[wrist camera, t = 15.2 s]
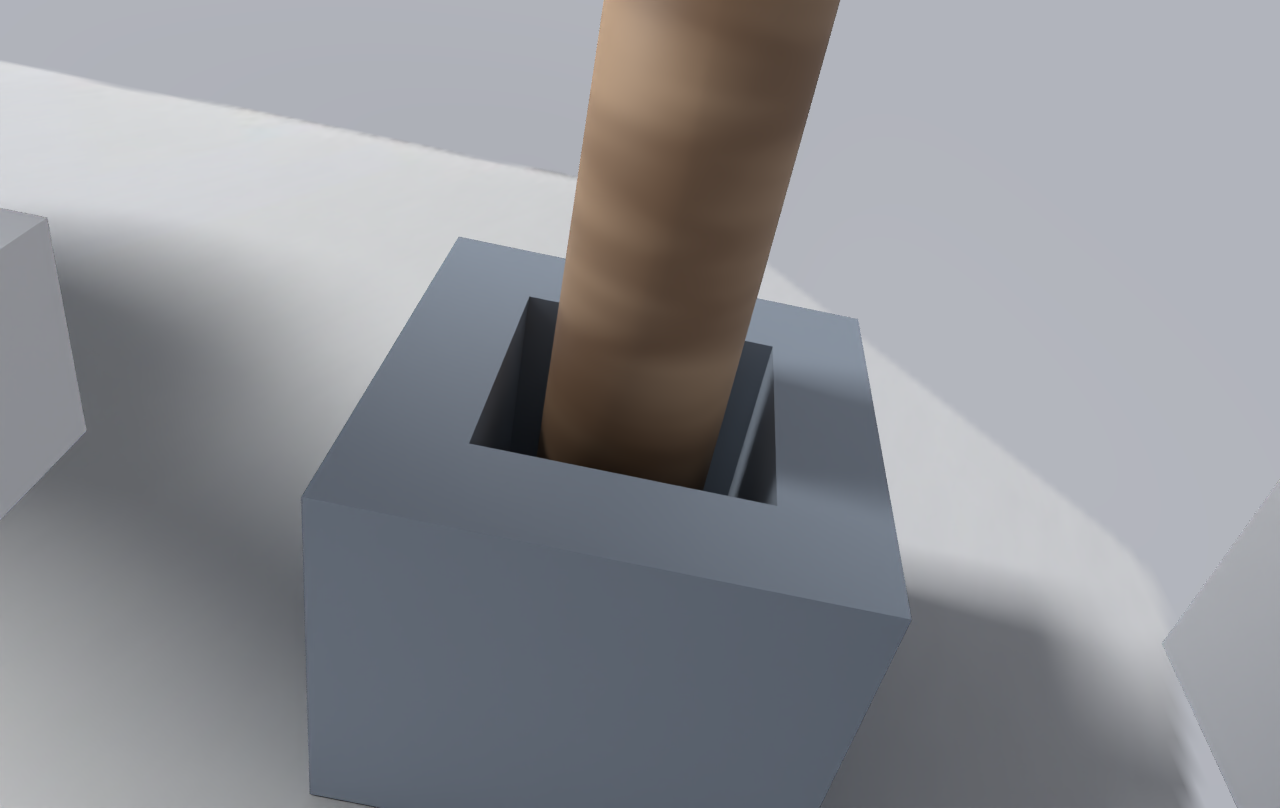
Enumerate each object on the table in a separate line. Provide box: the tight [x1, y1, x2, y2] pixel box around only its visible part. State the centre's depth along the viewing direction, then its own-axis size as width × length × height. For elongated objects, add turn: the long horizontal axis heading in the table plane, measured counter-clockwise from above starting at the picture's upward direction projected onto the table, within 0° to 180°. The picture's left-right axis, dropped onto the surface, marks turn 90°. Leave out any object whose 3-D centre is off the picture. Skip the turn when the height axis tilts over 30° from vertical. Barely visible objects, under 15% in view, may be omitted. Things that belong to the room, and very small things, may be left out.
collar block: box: [301, 237, 912, 808], centre depth 24 cm, size 11×11×9 cm
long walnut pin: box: [537, 0, 840, 491], centre depth 21 cm, size 4×4×22 cm
